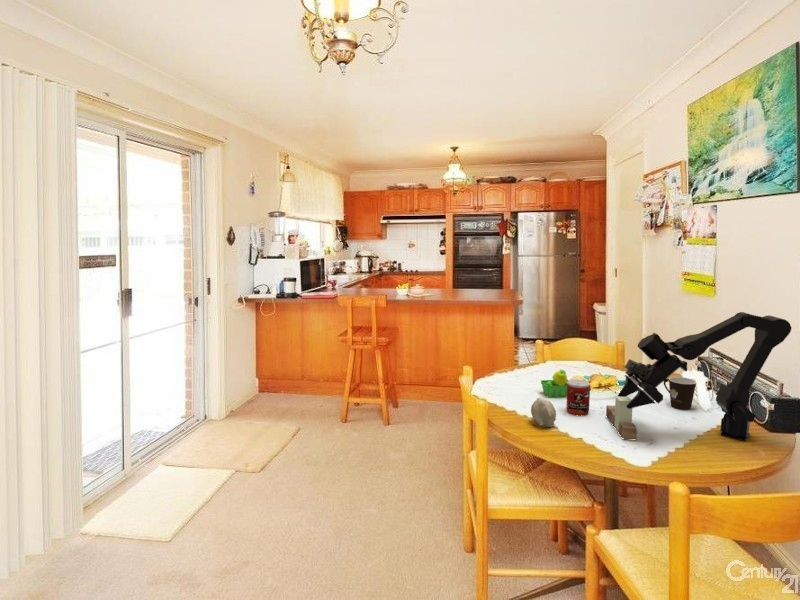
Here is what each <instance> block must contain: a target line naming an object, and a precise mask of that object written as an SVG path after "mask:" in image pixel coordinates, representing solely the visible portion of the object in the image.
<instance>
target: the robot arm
mask: <svg viewBox="0 0 800 600" xmlns="http://www.w3.org/2000/svg"><path fill="white" fill-rule="evenodd" d="M746 328H752V329H754V342H753V344H752V345H751V347H750V349H749V351H748V352H747V354H746V356H745V358H744V359H743V362H742V363H741V365H740V367H739V369H738V370H737V372H736V374H735V376H734V377H733V379H732V381H731V382H729V383H728V384H724V383H721V384H720V386H719V389H718V391H717V392H716V393H715V396H716V397H715V401H716V404H717V405H718V406H719V407H720V409H721V411H722V412H723V413H724V414H723V417H722V418H721V421H720V435H721V436H723V437H728V438H732V439H736V440H740V441H745V442H746V441H747V440H748V439H749V437H750V436H751V433H750V424H751V423H752V422H754V419H755V418H756V415H755V414H754V413H753V412H752V411H751V410H750V409H749V408H748V405H749V403H750V390H751V388H752V386H753V384H754V382H755V380H756V379H757V377H758V375H759V373H760V372H761V370H762V368H763V367H764V365H765V363H766V362H767V360H768V358H769V356H770V354H771V352H772V351H773V349H774V348H776V347H777V346H778V345H780V344H781V343H783V342H784V341H785V340H786V339H787V337H788V336H789V335H790V334H791V332H792V326H791V324H790V322H789V321H788V320H786V319H784V318H780V317H777V316H773V315H769V314H768V315H765V316H758V315H754V314H750V313H749V312H744V311H740V312H737V313H736V314H734V315H733V316H731V317H729V318H727V319H725V320H723V321H722V322H719V323H717V324H715V325H713V326H711V327H709V328H708V329H705V330H703V331H701V332H700V333H695V334H690V335H689V334H688V335H685V336H683V337H680V338H677V339H676V340H674V341H668V342H665V341H664V340H663V339H662V338H661V336H659V334H658V333H656V332H653V333H651V335H647V336H645V337H643V338H642V339H641V340H640V341H639V342H638V343H637V348H639V350H640V351H641V352H642V353H643V354H644V355H645V356H647V358H648V359H649V360H651V361H653V360H654V363H652V364H651V363H648V364H645V363H642V362H638V361H635V360H633V359H628V361H627V363H626V364H625V366H624V369H626V371H625V375H624V377H625V379H626V383H625V385H623V386H622V387H621V388H622V390H621V391H620V393H619V394H618V395H617V396H618V397H629V395H633V394H634V393H636V392H637V394H636V395H635V396H634V397H633V398H631V401H630V402H629V403H628V405H627V406H626V407H627V408H628V409H631V408H632V409H635V408H637V407H641V406H646V405H651V404H660V403H662V401H664V395H663V394H662V393H661V392H660V391H659V389H658V386H659V385H660V384H662V383H664V382H665V384H666V383H668V382H669V380H667V379H669V378H670V377H671V375H673V374H674V373H675V372H676V371H677V370H678V369H681V370H683V371H684V372H687V371H688V362H687V361H694V360H696V359H697V358H699V357H701V355H702V354H704V353H705V352H706V351H707V350H708V349H709V347H711V346H713V345H714V344H716V343H718V342H721V341H722V340H725V339H727V338H728V337H730V336H733V335H734V334H737V333H738V332H740V331H742V330H745V329H746ZM670 353H672V354H670ZM678 356H679V357H681V358H682V359H683V360H682V359H680V358H679V357H678ZM685 360H686V361H685Z"/></svg>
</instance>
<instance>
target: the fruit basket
mask: <svg viewBox="0 0 800 600" xmlns="http://www.w3.org/2000/svg"><path fill="white" fill-rule="evenodd" d="M569 380H570V379H568V376H567V373H566V370H564V369H559V370H558V371H555V373H553V375H552V379H546V380H545V379H544V380H543V379H542V380H540V384H541V386H542V392H543V394H545V396H546V397H548V398H563V397H562V396H567V382H568V381H569Z"/></svg>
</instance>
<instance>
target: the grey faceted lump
mask: <svg viewBox="0 0 800 600" xmlns="http://www.w3.org/2000/svg"><path fill="white" fill-rule="evenodd" d="M530 413H531V416H532V419H534V421H535V423H536V424H537V425H538V426H540V427H546V428H550V427H551V428H552V427H553V426H556V424H555V422H556V419H557V418H556V417H557V411H556V409H555V407H554V404H553V403H552V402H551V401H550V400H548V399H545V398H540V397H537V398H536V400H535V401H533V403H532V405H531V407H530Z"/></svg>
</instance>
